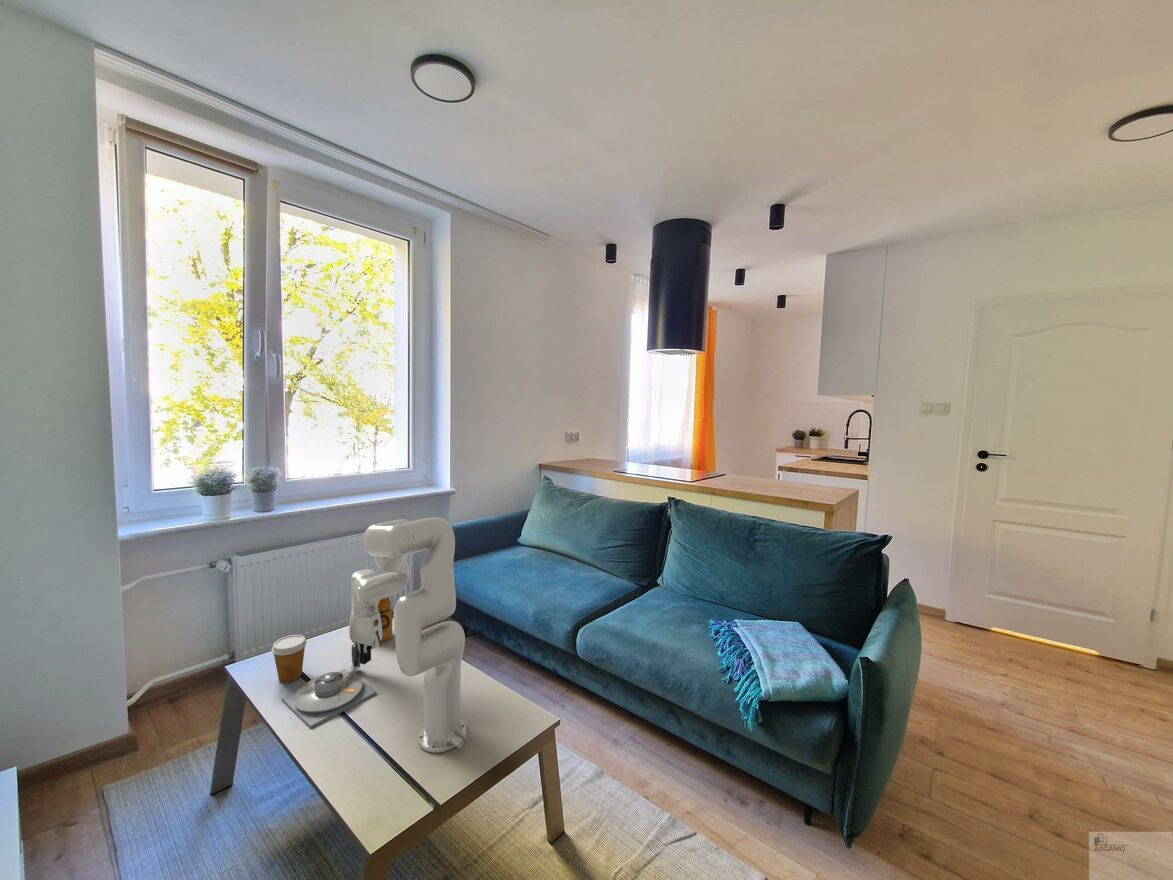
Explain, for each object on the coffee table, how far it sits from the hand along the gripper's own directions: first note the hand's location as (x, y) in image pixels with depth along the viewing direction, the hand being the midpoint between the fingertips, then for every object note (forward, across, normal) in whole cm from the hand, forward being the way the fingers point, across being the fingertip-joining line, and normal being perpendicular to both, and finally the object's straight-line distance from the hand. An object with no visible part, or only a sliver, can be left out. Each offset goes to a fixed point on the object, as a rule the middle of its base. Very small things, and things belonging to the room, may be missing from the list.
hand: (365, 661), depth 151 cm
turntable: (+3, +1, +10) cm, 11 cm away
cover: (+2, 0, +14) cm, 14 cm away
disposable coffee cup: (+4, +21, +11) cm, 24 cm away
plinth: (+4, 0, +13) cm, 14 cm away
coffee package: (+4, +15, -18) cm, 24 cm away
